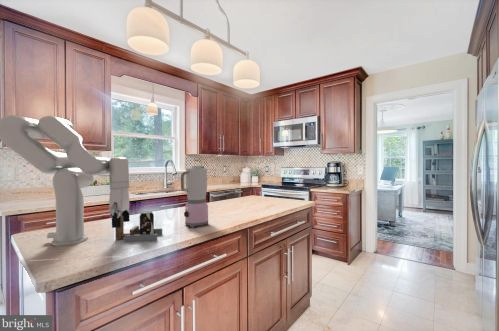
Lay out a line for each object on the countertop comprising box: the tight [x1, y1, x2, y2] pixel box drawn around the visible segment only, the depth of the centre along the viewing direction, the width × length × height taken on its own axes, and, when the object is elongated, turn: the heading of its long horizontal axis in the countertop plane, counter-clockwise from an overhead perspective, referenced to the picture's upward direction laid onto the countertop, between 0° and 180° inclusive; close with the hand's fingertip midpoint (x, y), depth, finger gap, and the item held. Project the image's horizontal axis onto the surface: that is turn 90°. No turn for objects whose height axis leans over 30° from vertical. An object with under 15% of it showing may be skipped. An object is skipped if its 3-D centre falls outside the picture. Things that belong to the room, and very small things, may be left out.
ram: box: [114, 215, 140, 241], centre depth 104 cm, size 8×7×10 cm
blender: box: [180, 165, 209, 229], centre depth 127 cm, size 16×12×32 cm
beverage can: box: [139, 210, 155, 235], centre depth 106 cm, size 6×6×12 cm
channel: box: [124, 228, 163, 243], centre depth 105 cm, size 13×10×3 cm
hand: (121, 224), depth 104 cm, fingers open, 9 cm apart
